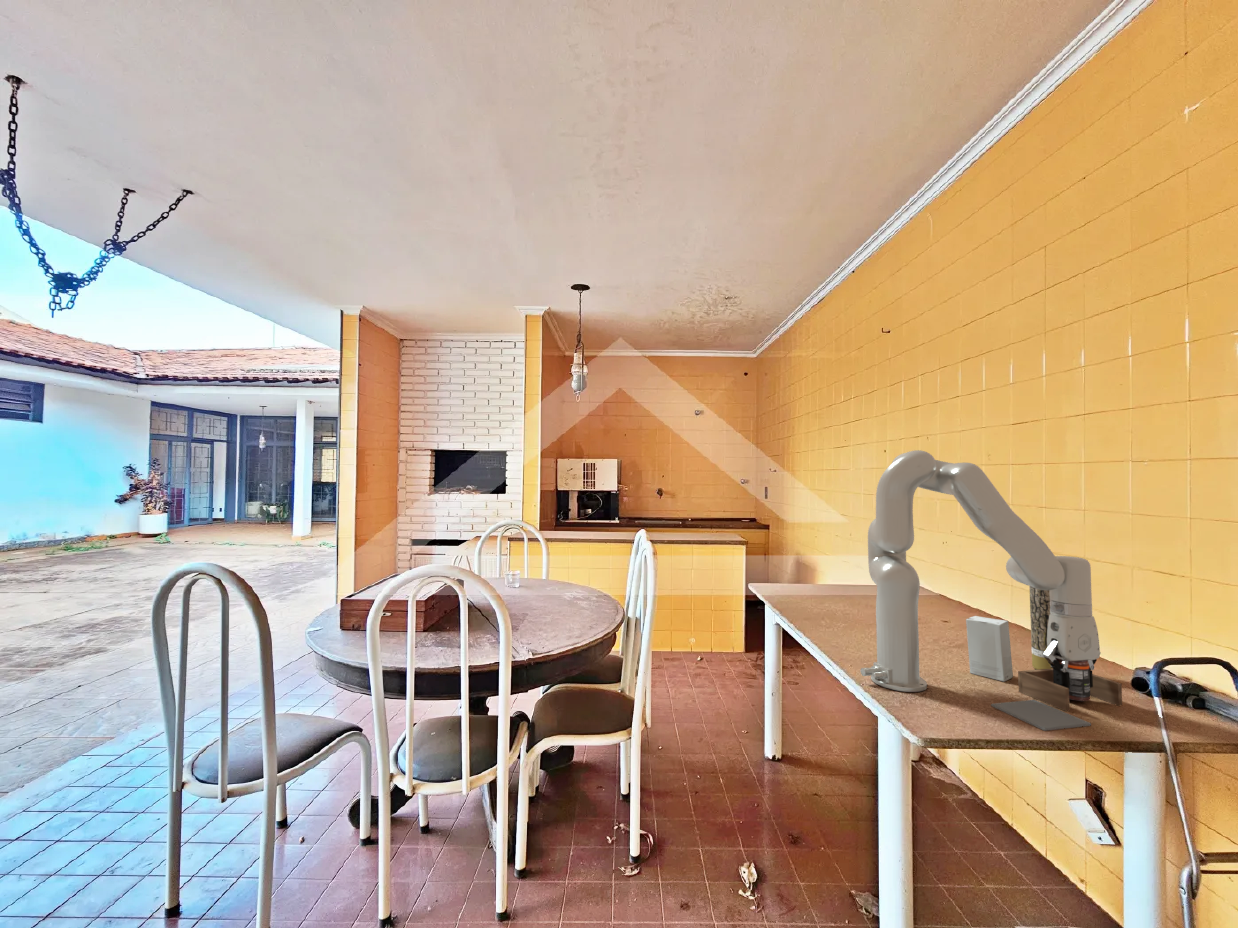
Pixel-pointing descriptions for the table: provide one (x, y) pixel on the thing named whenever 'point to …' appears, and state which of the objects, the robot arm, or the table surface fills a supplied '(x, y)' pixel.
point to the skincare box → (989, 648)
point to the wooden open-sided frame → (1064, 688)
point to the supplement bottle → (1079, 680)
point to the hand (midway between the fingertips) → (1073, 685)
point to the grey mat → (1040, 715)
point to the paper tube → (1039, 626)
